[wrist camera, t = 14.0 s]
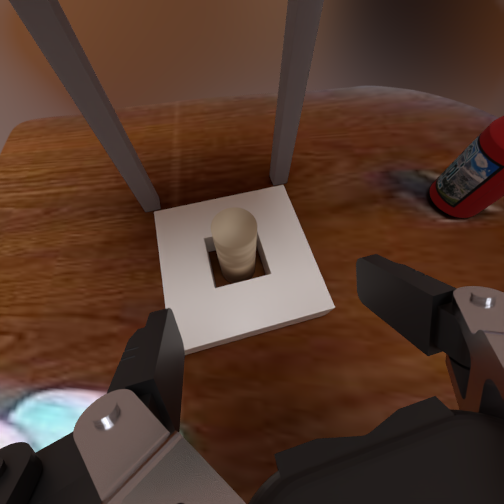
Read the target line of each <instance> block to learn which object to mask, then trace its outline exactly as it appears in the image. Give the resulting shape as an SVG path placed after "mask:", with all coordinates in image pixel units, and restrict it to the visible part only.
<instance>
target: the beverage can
mask: <svg viewBox="0 0 504 504" xmlns="http://www.w3.org/2000/svg"><path fill="white" fill-rule="evenodd" d="M503 196H504V116H502V117H500V118H498V119H496V120H495V121H493V122H492V123H491V124H490V125H489V126H488V127H487V128H486V129H485V130H484V131H483V132H482V133H481V134H480V135H479V136H478V137H477V138H476V139H475V140H474V141H473V142H472V143H471V144H470V145H469V146H468V147H467V148H466V149H465V150H464V151H463V152H462V153H461V155H460V156H459V157H458V158H457V159H456V160H455V161H454V162H453V163H452V164H451V165H450V166H449V167H448V168H447V169H446V170H445V171H444V172H443V173H442V174H441V175H440V176H439V177H438V178H437V179H436V180H435V182H434V183H433V184H432V185H431V187H430V197H431V199H432V201H433V202H434V204H435V205H436V206H437V207H438V208H439V209H440V210H442V211H443V212H445V213H447V214H449V215H451V216H455V217H460V218H468V217H472V216H474V215H476V214H478V213H479V212H481V211H482V210H484V209H485V208H487V207H488V206H489V205H491V204H492V203H494V202H495V201H497V200H498V199H500V198H501V197H503Z"/></svg>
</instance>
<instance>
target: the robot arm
mask: <svg viewBox="0 0 504 504" xmlns="http://www.w3.org/2000/svg"><path fill="white" fill-rule="evenodd" d="M356 272H357V293H358V296H359V298H360V300H361V302H362V303H363V304H364V305H365V306H366V307H368V308H369V309H370V310H371V311H372V312H374V313H375V314H376V315H377V316H379V317H380V318H381V319H382V320H384V321H385V322H386V323H387V324H389V325H390V326H391V327H392V328H394V329H395V330H396V331H397V332H399V333H400V334H401V335H402V336H404V337H405V338H406V339H407V340H408V341H410V342H411V343H412V344H413V345H415V346H416V347H417V348H418V349H420V350H421V351H422V352H423V353H425V354H426V355H427V356H430V355H433V354H436V353H439V352H442V351H443V352H445V353H446V366H447V369H448V373H449V376H450V379H451V383H452V386H453V389H454V393H455V396H456V400H457V403H458V406H459V410H449V409H448V408H447V407H446V406H445V405H444V404H443V403H442V402H441V401H440V400H439V399H438V398H437V397H436V396H434V397H431V398H428V399H426V400H423V401H420V402H417V403H415V404H412V405H409V406H406V407H403V408H401V409H398V410H397V411H396V412H395V413H393V414H392V415H391V416H390V417H388V418H387V419H386V420H385V421H384V422H382V423H381V424H380V425H379V426H378V427H376V428H375V429H374V430H373V431H371V432H370V433H369V434H367V435H364V436H354V437H338V438H322V439H315V440H312V441H309V442H307V443H304V444H301V445H298V446H296V447H293V448H290V449H287V450H284V451H282V452H279V453H276V454H274V455H275V459H276V463H277V468H278V471H277V472H276V473H274V474H273V475H272V476H271V477H269V478H268V479H267V481H266V482H265V483H264V484H263V485H262V486H261V487H260V488H259V489H258V491H257V492H256V493H255V495H254V496H253V497H252V499H251V500H250V502H249V504H504V293H503V292H501V291H498V290H495V289H491V288H486V287H478V286H466V287H461V288H458V289H456V288H454V287H452V286H450V285H447V284H445V283H443V282H441V281H439V280H436V279H434V278H432V277H430V276H428V275H426V276H425V274H423V273H421V272H419V271H415V269H412V268H410V267H408V266H406V265H403V264H398V263H394V262H392V261H390V260H388V259H386V258H384V257H382V256H379V255H377V254H374V255H370V256H367V257H363V258H359V259H358V260H357V263H356ZM184 358H185V351H184V345H183V340H182V337H181V334H180V331H179V329H178V326H177V323H176V320H175V317H174V314H173V311H172V309H171V308H167V309H163V310H159V311H155V312H151V313H150V314H149V317H148V320H147V323H146V326H145V328H141V329H138V330H137V331H136V332H135V333H134V334H133V336H132V337H131V338H130V339H129V341H128V343H127V345H126V348H125V352H124V353H123V355H122V358H121V361H120V362H119V365H118V367H117V370H116V372H115V375H114V377H113V379H112V382H111V384H110V387H109V389H108V392H107V394H106V395H104V396H102V397H100V398H99V399H97V400H96V401H95V402H94V403H92V404H91V405H90V406H89V407H88V408H87V409H86V410H85V411H84V412H83V413H82V415H81V416H80V417H79V419H78V421H77V423H76V425H75V427H74V431H73V432H72V433H70V434H68V435H66V436H65V437H63V438H61V439H59V440H58V441H56V442H54V443H52V444H50V445H49V446H47V447H45V448H43V449H41V450H40V451H38V452H36V453H35V452H34V450H33V449H32V448H31V446H30V445H29V444H28V443H25V442H18V443H14V444H10V445H8V446H5V447H3V448H1V449H0V504H246V503H245V502H244V501H243V500H242V499H241V498H240V497H239V496H238V495H237V494H236V492H235V491H234V490H233V489H232V488H231V487H230V486H229V485H228V484H227V483H226V482H225V481H224V480H223V479H222V478H221V477H220V475H219V474H218V473H217V472H216V471H215V470H214V469H213V468H212V467H211V466H210V465H209V464H208V463H207V462H206V461H205V460H204V458H203V457H202V456H201V455H200V454H199V453H198V452H197V451H196V450H195V449H194V448H193V447H192V446H191V445H190V444H189V443H188V441H187V440H186V439H185V438H184V437H183V436H182V435H181V434H180V433H179V427H180V413H181V399H182V386H183V372H184Z"/></svg>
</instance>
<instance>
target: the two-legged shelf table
mask: <svg viewBox="0 0 504 504" xmlns="http://www.w3.org/2000/svg"><path fill="white" fill-rule="evenodd" d="M9 1H10V3H11V4H12V6H13V8H14V9H15V10H16V12H17V14H18V15H19V17H20V18H21V20H22V22H23V23H24V24H25V26H26V28H27V29H28V31H29V32H30V34H31V35H32V37H33V38H34V40H35V41H36V43H37V45H38V46H39V48H40V49H41V51H42V53H43V54H44V56H45V57H46V59H47V60H48V62H49V63H50V65H51V66H52V68H53V69H54V71H55V73H56V74H57V76H58V77H59V79H60V80H61V82H62V83H63V85H64V87H65V88H66V90H67V91H68V93H69V94H70V96H71V97H72V99H73V100H74V102H75V104H76V105H77V107H78V108H79V110H80V111H81V113H82V114H83V116H84V118H85V119H86V121H87V122H88V124H89V125H90V127H91V128H92V130H93V132H94V133H95V135H96V136H97V138H98V139H99V141H100V142H101V144H102V145H103V147H104V149H105V150H106V152H107V153H108V155H109V156H110V158H111V159H112V161H113V163H114V164H115V166H116V167H117V169H118V170H119V172H120V173H121V175H122V176H123V178H124V180H125V181H126V183H127V184H128V186H129V187H130V189H131V190H132V192H133V194H134V195H135V197H136V198H137V200H138V201H139V203H140V204H141V206H142V207H143V209H144V211H145V212H149V211H154V210H159V209H161V208H160V201H159V196H158V195H157V193H156V191H155V189H154V187H153V185H152V183H151V181H150V179H149V177H148V175H147V173H146V171H145V169H144V167H143V165H142V163H141V161H140V159H139V158H138V156H137V154H136V152H135V150H134V148H133V146H132V144H131V142H130V140H129V138H128V136H127V134H126V132H125V130H124V128H123V126H122V124H121V122H120V121H119V119H118V117H117V115H116V113H115V111H114V109H113V107H112V105H111V103H110V101H109V99H108V97H107V95H106V93H105V91H104V89H103V88H102V86H101V84H100V82H99V80H98V78H97V76H96V74H95V72H94V70H93V68H92V66H91V64H90V62H89V60H88V58H87V56H86V55H85V52H84V50H83V48H82V47H81V45H80V43H79V41H78V39H77V37H76V35H75V33H74V31H73V29H72V27H71V25H70V23H69V21H68V19H67V17H66V15H65V13H64V11H63V10H62V8H61V6H60V4H59V2H58V0H9ZM323 2H324V0H288V6H287V16H286V26H285V35H284V44H283V54H282V63H281V73H280V82H279V91H278V100H277V110H276V119H275V128H274V138H273V147H272V157H271V166H270V178H271V180H272V183H273V185H279V184H284V183H287V179H288V175H289V170H290V165H291V160H292V155H293V150H294V145H295V140H296V135H297V130H298V125H299V120H300V115H301V110H302V105H303V100H304V96H305V91H306V85H307V80H308V76H309V71H310V66H311V61H312V56H313V51H314V46H315V41H316V36H317V31H318V26H319V21H320V16H321V12H322V7H323Z"/></svg>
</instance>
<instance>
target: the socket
mask: <svg viewBox="0 0 504 504" xmlns="http://www.w3.org/2000/svg"><path fill="white" fill-rule="evenodd" d="M233 207H236V208H242V209H245V210H247V211H249V212H250V213H251V214H252V215H253V216H254V217H255V219H256V222H257V241H256V246H257V249H258V252H259V255H260V258H261V261H262V265H263V268H264V271H265V274H266V275H265V276H261V277H257V278H254V279H250V280H246V281H242V282H238V283H234V284H230V285H226V286H222V287H218V288H216V284H215V279H214V275H213V270H212V266H211V261H210V257H209V252H210V251H215V250H216V248H215V244H214V241H213V237H212V233H211V223H212V220H213V218H214V217H215V216H216V215H217V214H218V213H219V212H220V211H222V210H224V209H227V208H233ZM154 217H155V225H156V233H157V241H158V249H159V258H160V266H161V274H162V282H163V290H164V298H165V307H166V309H167V308H171V309H172V311H173V314H174V317H175V320H176V323H177V326H178V329H179V331H180V334H181V337H182V340H183V345H184V351H185V355H187V354H190V353H194V352H197V351H201V350H204V349H208V348H211V347H215V346H218V345H222V344H225V343H229V342H232V341H236V340H239V339H243V338H246V337H250V336H253V335H257V334H260V333H264V332H267V331H271V330H274V329H278V328H281V327H285V326H288V325H292V324H295V323H299V322H302V321H306V320H309V319H313V318H316V317H320V316H323V315H326V314H327V313H328V312H330V311H331V310H333V309H334V308H335V306H334V304H333V302H332V299H331V297H330V295H329V292H328V290H327V287H326V285H325V283H324V280H323V278H322V276H321V273H320V271H319V268H318V266H317V264H316V261H315V259H314V256H313V254H312V252H311V249H310V247H309V245H308V242H307V240H306V237H305V235H304V233H303V230H302V228H301V226H300V223H299V221H298V218H297V216H296V214H295V211H294V209H293V207H292V204H291V202H290V199H289V197H288V195H287V192H286V190H285V187H284V185H280V186H275V187H270V188H265V189H261V190H256V191H251V192H246V193H241V194H237V195H232V196H227V197H222V198H217V199H213V200H208V201H203V202H198V203H194V204H189V205H184V206H179V207H174V208H170V209H165V210H160V211H155V212H154Z"/></svg>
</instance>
